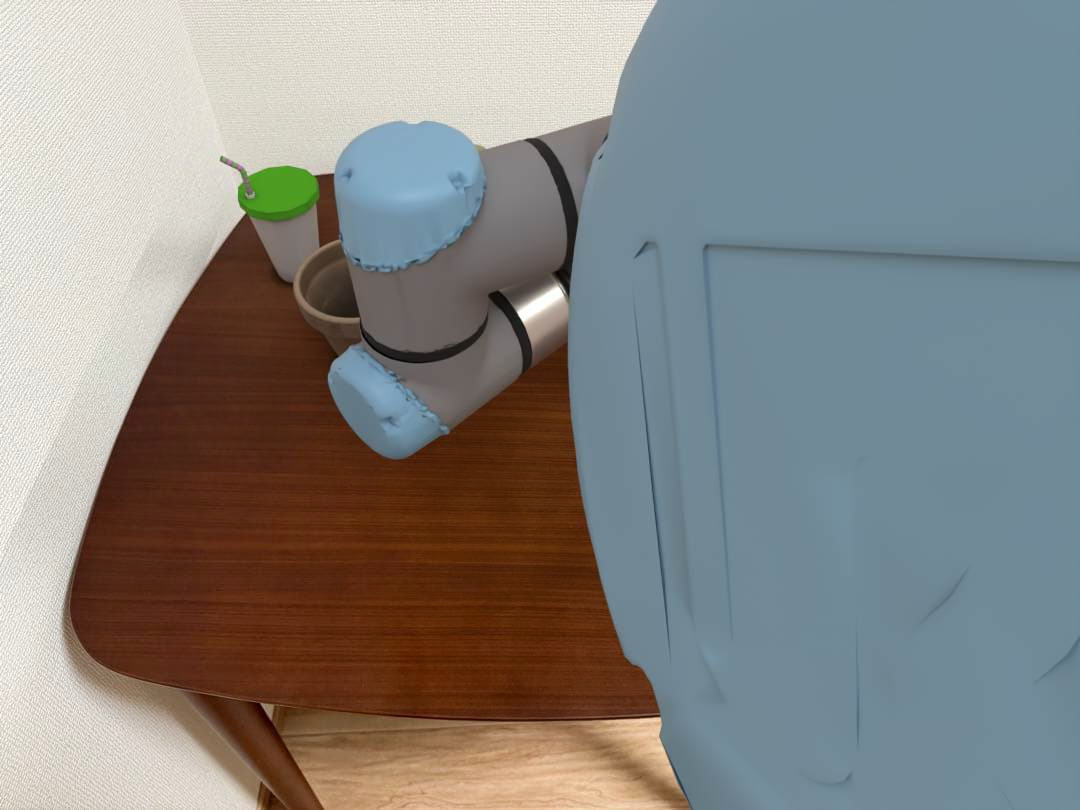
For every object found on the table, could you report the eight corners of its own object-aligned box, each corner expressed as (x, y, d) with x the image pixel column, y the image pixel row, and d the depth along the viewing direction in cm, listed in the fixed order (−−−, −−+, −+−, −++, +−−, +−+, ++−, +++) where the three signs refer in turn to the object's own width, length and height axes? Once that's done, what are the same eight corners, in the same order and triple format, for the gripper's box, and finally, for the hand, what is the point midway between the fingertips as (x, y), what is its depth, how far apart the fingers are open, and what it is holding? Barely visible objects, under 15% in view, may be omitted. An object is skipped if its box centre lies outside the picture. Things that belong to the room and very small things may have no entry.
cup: (345, 249, 90) (318, 126, 79) (326, 297, 85) (294, 173, 74) (275, 243, 91) (239, 120, 79) (252, 291, 86) (210, 167, 74)
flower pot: (386, 415, 75) (371, 337, 67) (290, 369, 79) (264, 290, 71) (455, 337, 82) (448, 259, 74) (363, 298, 85) (347, 219, 77)
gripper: (448, 271, 64) (639, 154, 74) (640, 408, 55) (825, 252, 66) (440, 190, 58) (648, 75, 69) (654, 328, 49) (853, 172, 60)
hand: (734, 162), depth 67 cm, fingers closed on can, 6 cm apart
